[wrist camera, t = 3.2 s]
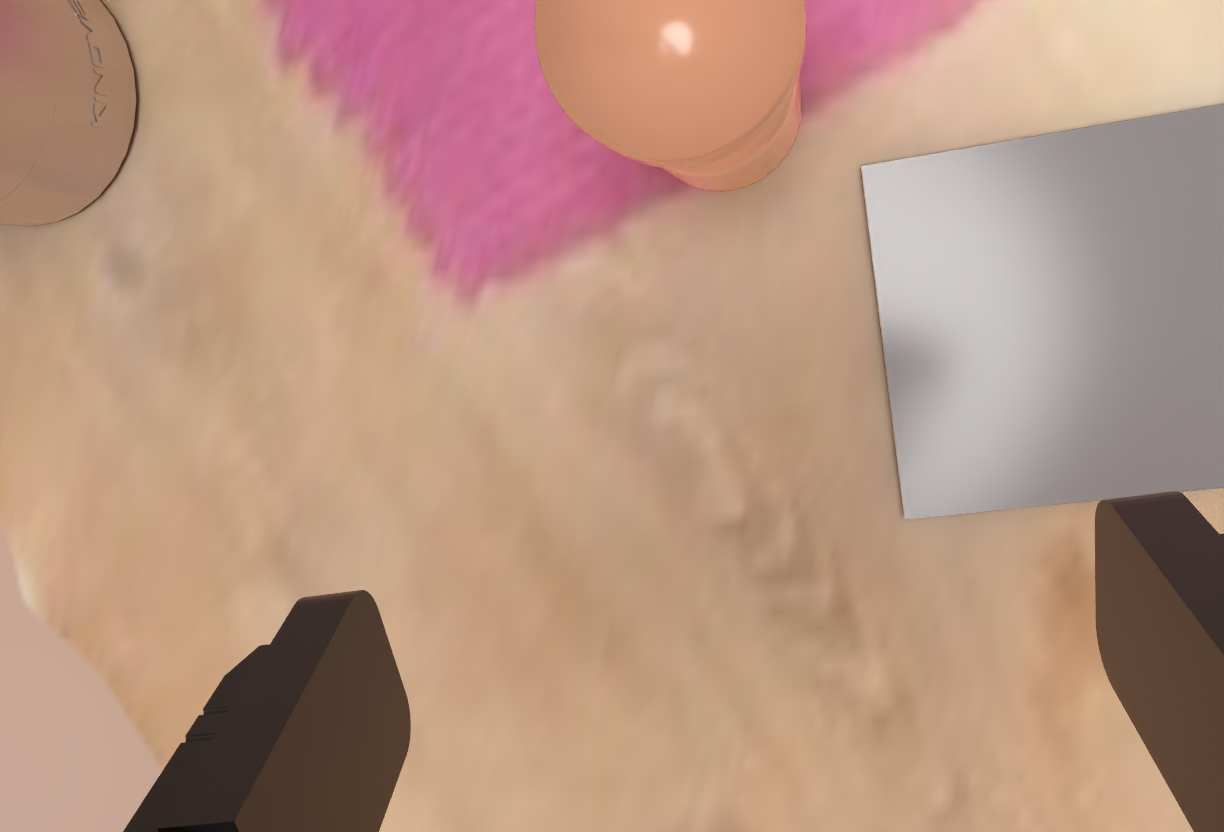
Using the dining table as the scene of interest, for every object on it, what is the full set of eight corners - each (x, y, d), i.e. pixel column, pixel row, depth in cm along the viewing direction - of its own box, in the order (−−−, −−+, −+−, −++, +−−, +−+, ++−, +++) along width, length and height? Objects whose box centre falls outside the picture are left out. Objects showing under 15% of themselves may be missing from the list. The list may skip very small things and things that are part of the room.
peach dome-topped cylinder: (647, 214, 34) (556, 180, 22) (621, 37, 33) (515, -91, 22) (822, 184, 33) (822, 132, 21) (799, 0, 32) (785, -155, 21)
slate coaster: (903, 515, 33) (905, 519, 33) (860, 168, 32) (861, 166, 32) (1285, 477, 31) (1293, 480, 31) (1252, 100, 30) (1260, 97, 29)
